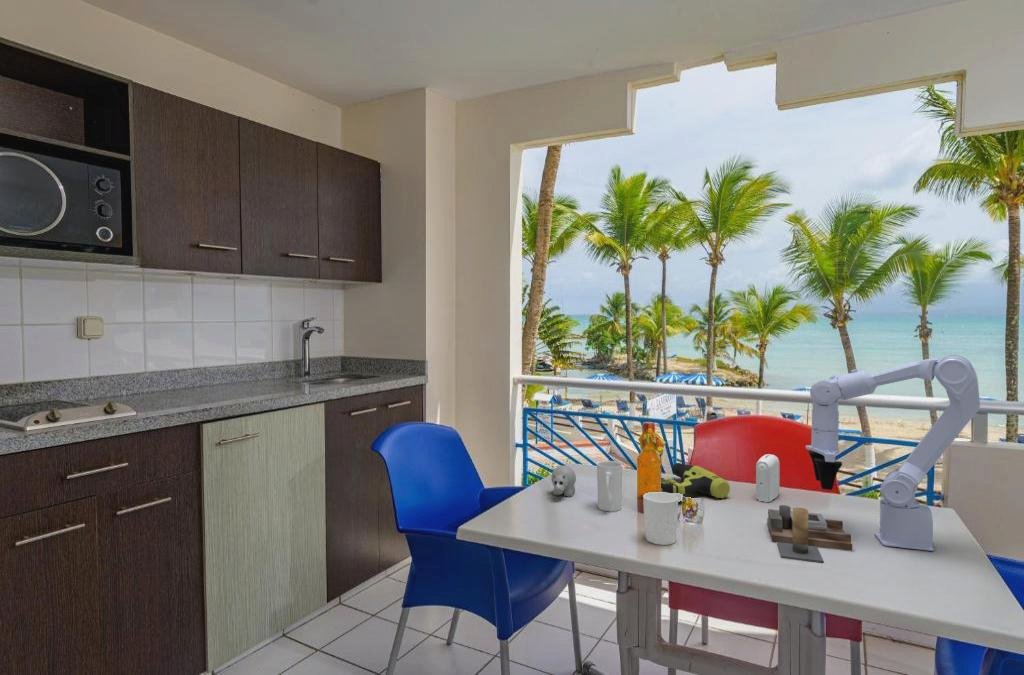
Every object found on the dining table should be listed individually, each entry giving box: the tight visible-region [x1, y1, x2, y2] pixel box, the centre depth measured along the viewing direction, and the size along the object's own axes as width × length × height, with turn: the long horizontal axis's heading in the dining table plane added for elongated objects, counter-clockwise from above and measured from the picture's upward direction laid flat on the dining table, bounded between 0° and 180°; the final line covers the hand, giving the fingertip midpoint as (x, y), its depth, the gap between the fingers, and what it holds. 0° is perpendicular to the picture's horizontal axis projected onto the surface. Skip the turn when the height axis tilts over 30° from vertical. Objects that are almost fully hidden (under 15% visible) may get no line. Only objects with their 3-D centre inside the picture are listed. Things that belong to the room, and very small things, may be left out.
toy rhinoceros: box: [550, 465, 577, 498], centre depth 161 cm, size 7×12×8 cm, turn 161°
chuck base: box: [766, 504, 853, 552], centre depth 130 cm, size 16×12×6 cm
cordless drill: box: [660, 462, 731, 499], centre depth 166 cm, size 7×25×25 cm
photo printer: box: [755, 453, 780, 503], centre depth 159 cm, size 10×4×12 cm, turn 138°
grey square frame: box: [790, 510, 827, 533], centre depth 130 cm, size 7×7×3 cm
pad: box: [776, 542, 824, 564], centre depth 120 cm, size 8×8×1 cm
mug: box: [596, 460, 623, 512], centre depth 150 cm, size 10×7×12 cm, turn 164°
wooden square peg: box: [792, 507, 809, 554], centre depth 120 cm, size 3×3×9 cm
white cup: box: [642, 492, 679, 546], centre depth 128 cm, size 8×8×10 cm
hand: (823, 484), depth 135 cm, fingers open, 7 cm apart
